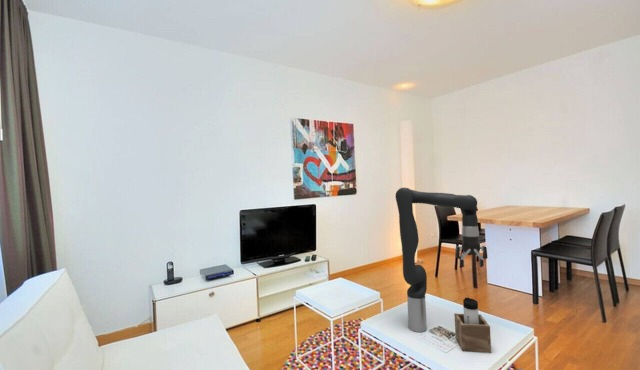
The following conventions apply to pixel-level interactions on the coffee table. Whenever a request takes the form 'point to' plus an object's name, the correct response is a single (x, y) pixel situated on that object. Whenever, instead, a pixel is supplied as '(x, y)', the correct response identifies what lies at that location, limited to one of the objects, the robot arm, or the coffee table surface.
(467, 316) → the travel mug
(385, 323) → the coffee table surface
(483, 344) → the wooden box
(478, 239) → the robot arm
